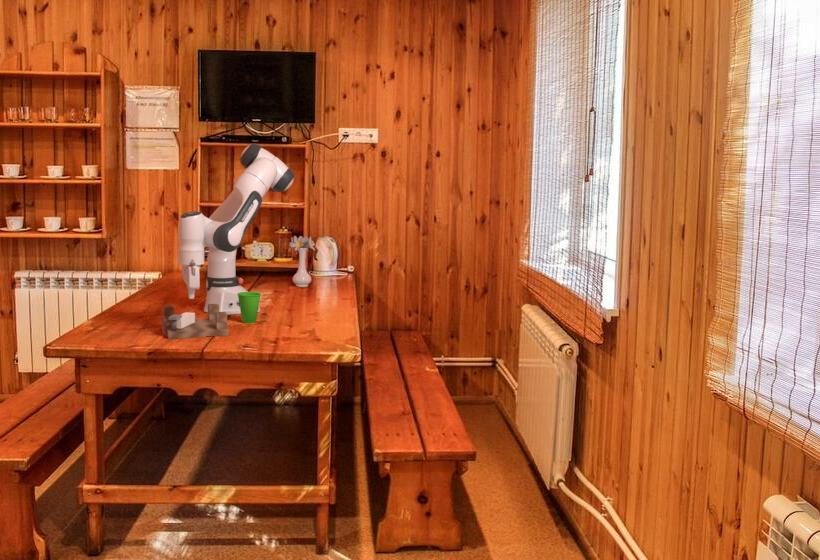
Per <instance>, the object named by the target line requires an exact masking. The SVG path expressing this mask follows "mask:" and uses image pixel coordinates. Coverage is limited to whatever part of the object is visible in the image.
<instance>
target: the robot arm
mask: <svg viewBox="0 0 820 560" xmlns="http://www.w3.org/2000/svg"><path fill="white" fill-rule="evenodd" d="M239 162H240V164H241V165H242V167H243V168H244V169H245V170H244V171H243V172H242V173H241V174H240V175H239V176H238V177H237V179H236V181H235V183H234V184H233V190H232V191H231V192H230V194H228V195H227V198H226V199H224V200H223V202H222V203H221V204H220V205H219V206H218V207H217V208H216V209H215V210H214V211H213V213H212V214H211V215H210V216H209V217H207V216H205V215H204V214H203V213H202V212H201V211H187V212H184V213H182V214H181V215H180V217H179V218H178V219H179V220H178V228H177V240H178V242H179V243H178V249H177V264H178V265H181V273H182V278H183V281H184V283H185V284H186V287H187V297H188V299H189V300H194V299H195V293H196V290H200V286H201V285H200V279H201V278H200V276H201V275H200V269H201V265H204V264H205V248H209V250H208V254H207V264H206V265H207V275H206V279H205V289H206V299H205V303H204V307H203V312H204V313H207V314H208V304H218V305H219V312H226V313H227V316H228V315H229V316H230V315H241V311H240V304H239V298H238V295H237V294H238V293H240V292H249V291H248V290H247V289H246V288H245V287H243V286H241V284H243V283H244V279H243V278H242V277H239V276H237V275H236V266H237V265H236V261H237V260H236V259H237V257H236V256H237V250H238V248H240V246H241V245H242V242H243V239H244V238H245V237H244V236H245V234H246V232H247V230H248V229H249V227H250V225H251V223H252V221H253V220H254V218H255V216H256V215H257V214H258V212H259V210H260V208H261V206H262V203H263V199H264V197H265V196H266V195H267V194H268V192H269V190H270V188H271V191H272V192H277V193H283V192H285V191H286V190H288V189H290V188H291V186H292V185H293V183H294V180H295V173H294V171H293V169H291V168H290V167H288V166H287V164H286V163H284V162H283V161H282V160H281V159H280V158H279V157H277V156H275V155H274V154H273V153H271V152H270V151H268V150H267V149H264V148H263V146H261V145H260V144H258V143H251V144H250V145H247V146H245V148H244V149H242V152H241V155H240V158H239ZM259 312H261V307H260V306H259V307H258V313H259Z"/></svg>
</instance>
